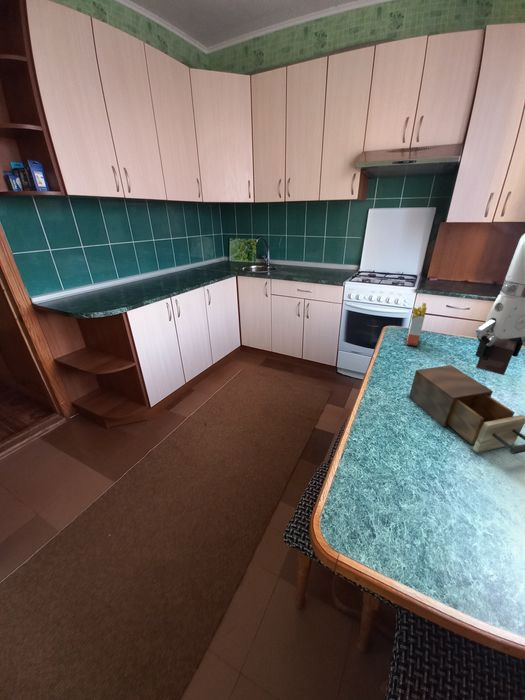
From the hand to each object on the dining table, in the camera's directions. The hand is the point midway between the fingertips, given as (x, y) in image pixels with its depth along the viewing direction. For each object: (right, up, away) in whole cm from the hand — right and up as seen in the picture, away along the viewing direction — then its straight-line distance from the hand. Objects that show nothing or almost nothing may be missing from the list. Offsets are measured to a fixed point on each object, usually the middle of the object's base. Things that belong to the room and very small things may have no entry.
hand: (496, 355), depth 75 cm
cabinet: (-5, -17, +14) cm, 22 cm away
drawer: (-2, -22, +2) cm, 22 cm away
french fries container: (+6, +4, +55) cm, 55 cm away
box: (0, -3, +2) cm, 4 cm away
